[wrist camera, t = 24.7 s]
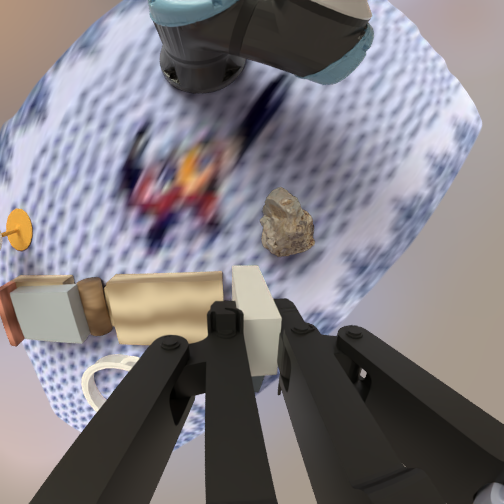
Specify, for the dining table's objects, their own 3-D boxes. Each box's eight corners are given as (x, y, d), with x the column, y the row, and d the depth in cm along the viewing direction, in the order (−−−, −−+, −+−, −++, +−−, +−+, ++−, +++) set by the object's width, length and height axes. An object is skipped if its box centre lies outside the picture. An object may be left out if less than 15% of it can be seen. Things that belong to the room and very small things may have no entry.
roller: (103, 276, 46) (80, 278, 45) (97, 284, 41) (73, 287, 40) (114, 322, 48) (92, 324, 47) (110, 334, 44) (87, 336, 42)
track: (20, 275, 43) (-7, 291, 33) (221, 271, 48) (223, 293, 38) (33, 324, 46) (10, 345, 36) (225, 330, 51) (227, 361, 41)
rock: (261, 247, 51) (302, 274, 45) (226, 221, 41) (272, 251, 36) (288, 207, 51) (331, 229, 45) (259, 174, 41) (310, 195, 35)
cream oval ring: (156, 434, 57) (153, 447, 52) (80, 399, 52) (74, 410, 47) (198, 369, 53) (197, 383, 48) (102, 321, 48) (94, 333, 43)
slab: (20, 286, 39) (9, 293, 35) (76, 283, 41) (66, 291, 37) (33, 330, 42) (24, 338, 38) (90, 333, 43) (82, 343, 39)
